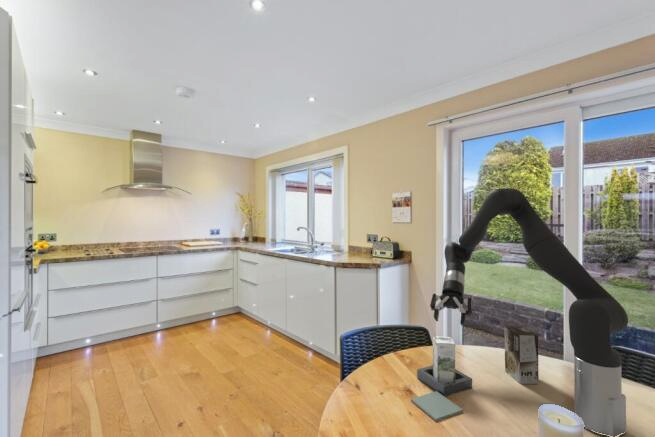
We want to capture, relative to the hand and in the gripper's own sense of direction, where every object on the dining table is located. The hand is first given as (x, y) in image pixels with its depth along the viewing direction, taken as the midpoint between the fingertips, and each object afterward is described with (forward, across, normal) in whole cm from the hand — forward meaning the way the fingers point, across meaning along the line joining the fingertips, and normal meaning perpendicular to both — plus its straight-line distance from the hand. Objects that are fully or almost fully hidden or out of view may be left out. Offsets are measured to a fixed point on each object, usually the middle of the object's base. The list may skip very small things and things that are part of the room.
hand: (448, 322), depth 108 cm
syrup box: (+20, 0, +5) cm, 20 cm away
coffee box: (+7, +22, +17) cm, 29 cm away
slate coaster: (+30, 0, -5) cm, 30 cm away
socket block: (+19, 0, +5) cm, 20 cm away
